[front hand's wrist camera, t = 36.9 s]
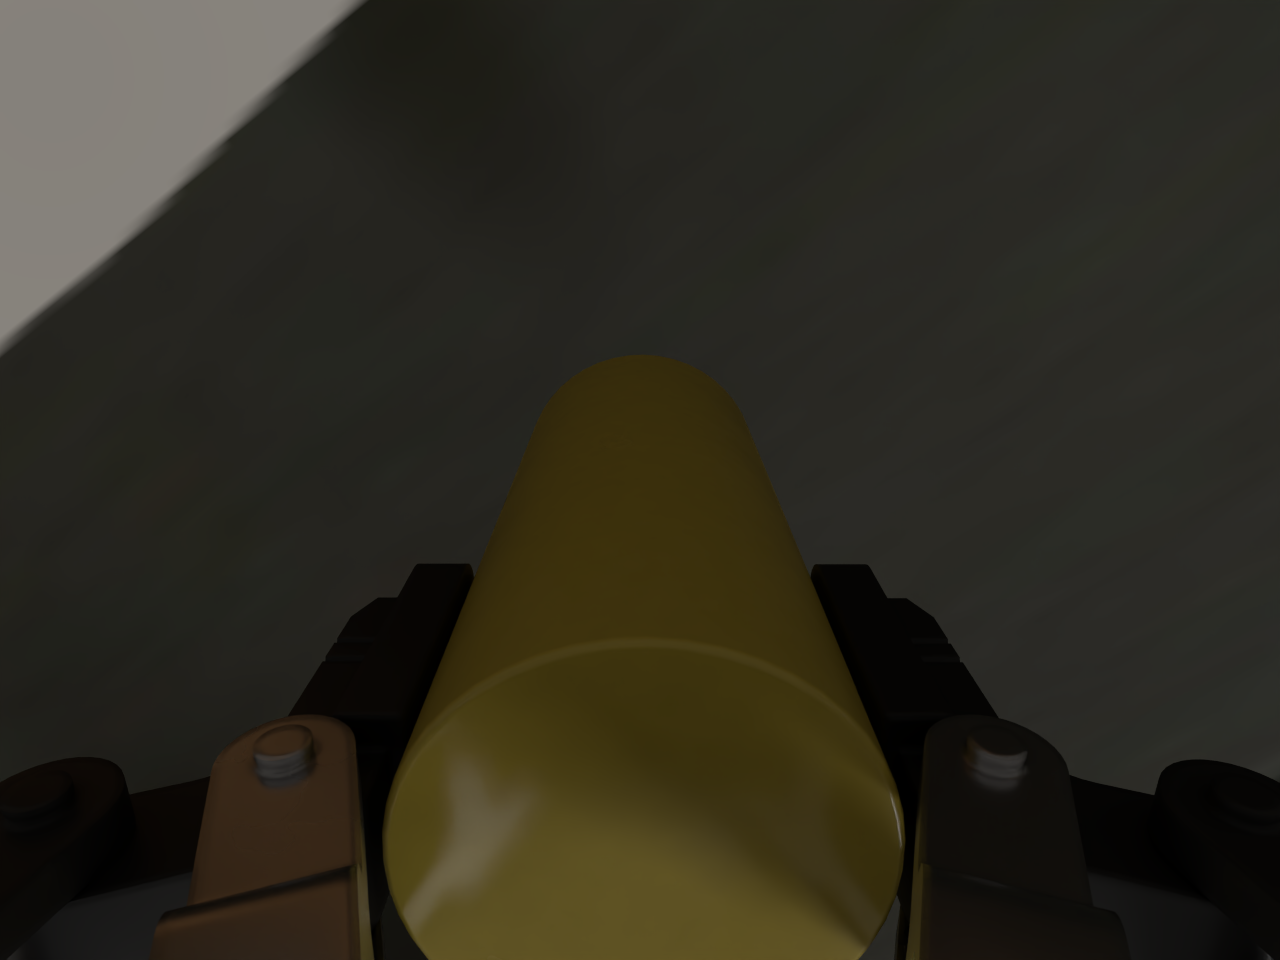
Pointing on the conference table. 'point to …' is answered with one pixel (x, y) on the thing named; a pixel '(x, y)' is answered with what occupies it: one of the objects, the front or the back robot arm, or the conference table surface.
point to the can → (643, 711)
